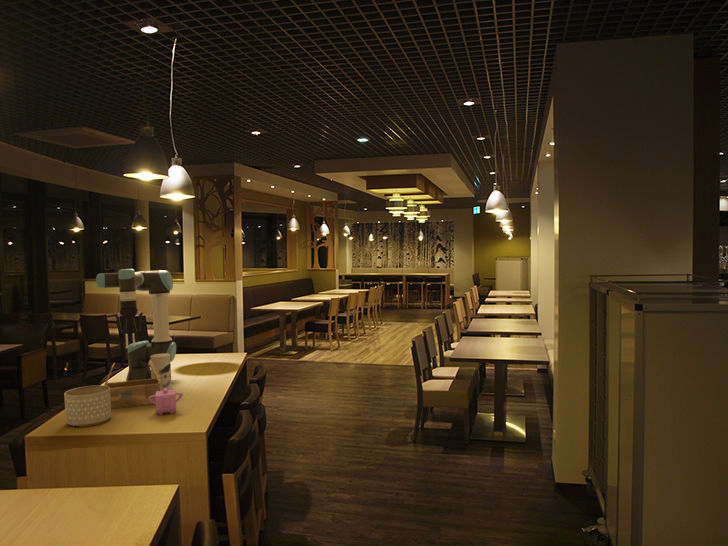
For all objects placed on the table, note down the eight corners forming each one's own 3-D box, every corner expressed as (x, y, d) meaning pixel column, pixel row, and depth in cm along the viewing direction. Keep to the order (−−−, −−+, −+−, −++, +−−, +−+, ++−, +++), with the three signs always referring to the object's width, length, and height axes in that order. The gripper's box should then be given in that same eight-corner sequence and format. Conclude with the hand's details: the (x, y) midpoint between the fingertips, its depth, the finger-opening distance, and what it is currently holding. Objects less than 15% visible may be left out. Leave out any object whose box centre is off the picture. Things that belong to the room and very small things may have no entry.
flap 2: (158, 376, 300) (149, 359, 298) (159, 376, 300) (150, 359, 298) (158, 381, 288) (148, 364, 287) (159, 381, 288) (149, 363, 287)
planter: (64, 430, 249) (62, 397, 248) (67, 419, 266) (65, 388, 265) (111, 424, 256) (109, 392, 255) (111, 413, 273) (110, 383, 272)
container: (165, 394, 307) (163, 356, 306) (148, 393, 309) (146, 356, 308) (175, 389, 317) (173, 353, 316) (158, 389, 319) (157, 353, 318)
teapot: (188, 410, 274) (187, 387, 273) (165, 418, 262) (164, 394, 262) (167, 406, 282) (165, 384, 281) (143, 414, 270) (142, 391, 270)
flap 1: (106, 381, 292) (114, 362, 293) (107, 381, 292) (115, 362, 293) (103, 386, 281) (111, 367, 282) (104, 386, 281) (112, 367, 282)
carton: (107, 402, 294) (106, 382, 294) (161, 396, 302) (160, 377, 302) (103, 410, 279) (102, 389, 279) (160, 403, 287) (159, 384, 287)
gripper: (110, 301, 282) (113, 349, 284) (144, 299, 287) (147, 346, 288) (112, 300, 290) (114, 347, 291) (145, 298, 294) (147, 344, 295)
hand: (130, 346), depth 289 cm, fingers open, 3 cm apart
